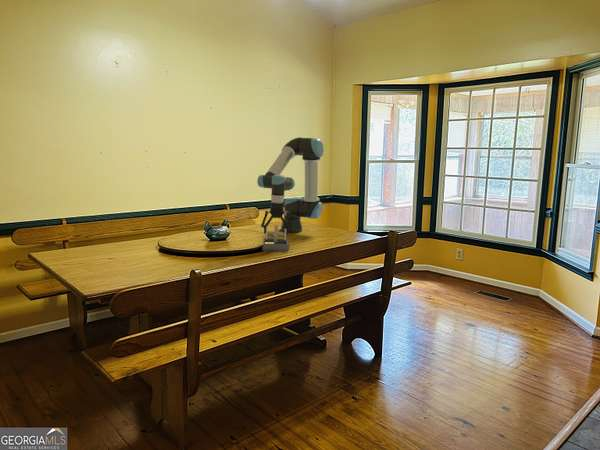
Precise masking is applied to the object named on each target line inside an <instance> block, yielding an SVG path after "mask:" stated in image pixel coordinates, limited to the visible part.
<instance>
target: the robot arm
mask: <svg viewBox="0 0 600 450" xmlns="http://www.w3.org/2000/svg"><path fill="white" fill-rule="evenodd" d="M324 150H325V149H324V145H323V142H322V140H321V139H320V138H314V137H300V136H299V137H295V138H292V139H291V140H289V141H288V142H286V143H285V145H284V146H283V147H282V149H281V152H280V154H279V155H278V156H277V157H276V159H275V161H274V162H273V164H272V165H271V166H270V168H269V169H268V170H267V172H266V173H265V174H260V175H259V176H258V177H257V180H256V182H257V186H258V187H259V188H262V189H271V197H270V210H265V211H264V217H263V219H262V221H261V224H260V226H261V228H263V233H264V234H265V238H266V239H267V238H268V234H267V232H268V226H269V224H271V222H272V220H273V218H274V219H280V220H281V221H282V223H281V225H280V231H282V232H283V233H285V235H284V236H283V239H284V240H286V239H287V235H289V233H292V234H293V233H295V234H296V233H301V232H303V224H302V221H301V218H305V219H306V218H307V219H311V220H318V219H319V218H320V217H321V215H322V212H323V209H324V207H323V206H324V205H323V202H321V201H320V200H321V199H320V197H318V184H319V183H318V178H319V177H318V175H319V174H318V173H319V172H318V171H319V169H318V168H319V167H318V165H319V163H318V162H319V161H320V160H321V157H323V155H324ZM296 156H302V157H301V159H302V161H304V197H299V196H298V197H297V196H296V197H295V196H294V197H287V198H285V191H290V190H293V189H294V187H295V185H296V182H295V180H294V178H293V177H289V176H287V177H286V176H285V175H282V173H283V171H284V170H285V168H286V167H287V165H288V164H289V163H290V161H291V160H293V159H294V158H295V157H296ZM269 214H270V217H269V218H268V220H267V217H268V215H269ZM266 221H267V222H266Z"/></svg>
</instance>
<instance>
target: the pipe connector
mask: <svg viewBox="0 0 600 450" xmlns="http://www.w3.org/2000/svg"><path fill="white" fill-rule="evenodd" d="M278 229H279V225H278V224H274V231H269V230H267V235H271V236H273V238H274V242H277V238H278V236H283V237H284V235H285V232H283V231H282V232H280V231H279V230H278Z"/></svg>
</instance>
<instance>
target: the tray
mask: <svg viewBox="0 0 600 450" xmlns="http://www.w3.org/2000/svg"><path fill="white" fill-rule="evenodd" d="M265 242H274V237H271V238H270V237H267V239H266V237H262V243H263V247H262V251H263V252H284V253H286V252H285V251H289V250H290V249H289V248H290V244H289V239H288V238H286V240H284V238H281V237H280V238H279V237H277V242H274V243H275V244H265Z"/></svg>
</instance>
